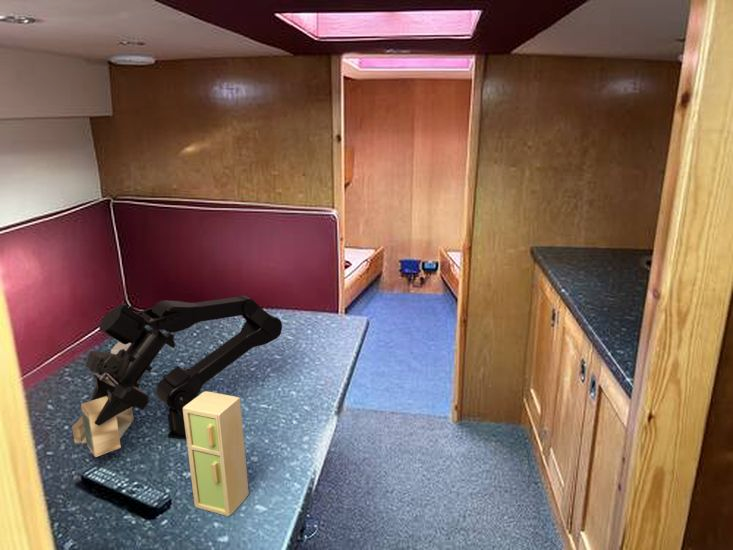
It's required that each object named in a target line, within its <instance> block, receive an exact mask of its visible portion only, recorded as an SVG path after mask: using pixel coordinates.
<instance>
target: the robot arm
mask: <svg viewBox="0 0 733 550" xmlns="http://www.w3.org/2000/svg"><path fill="white" fill-rule="evenodd" d="M240 316H241V317H242V318H243V319H244V320H245V322H244V324H243V325H242V327H241V329H240V331H239V332H237V334H236V335H234V336H233V337H231V338H229V340H227V341H226V342H224V343H223V344H222V345H220V346H218V347H217V348H216V349H215V350H213V351H212V352H211V353H209V354H208V355H206V356H205V357H204V358H202V359H201V360H199V361H198V362H197V363H196V364H194V365H193V366H191V367H189V368H186V369H183V368H182V367H180V366H178V365H177V366H175V367H174V368H173V369H172V370H171V371H170V372H169V373H166V374H164V375H162V377H161V378H162V379H160V380H159V382H158V383H157V386H156V393H155V394H156V395H157V397H158V399H160V400H161V401H162V402H163V403H164V404H165V405H166V406H167V407H169V408H168V414H167V422H168V430H169V432H168V434H167V438H173V439H180V440H181V439H183V440H187V439H186V432H185V423H184V416H183V407H184V406H185V405H187V404H188V403H189V402H191V401H192V400H193V399H195V398H196V397H197V396H199V395H200V391H201V390H202V388H203V386H204V385H206V383H207V382H210V380H212V379H213V378H214V377H215V376H216V375H218V374H220V373H221V372H222V371H224V370H225V369H226V368H228V367H229V366H230V365H231V364H233V363H234V362H236V361H237V360H238V359H239V358H241V357H242V356H244V355H245V354H246V353H247V352H249V351H250V350H251V349H253V348H257V347H259V346H264V345H267V344H270V343H271V342H273V341H275V340H277V339H278V338H279V337H280V335H281V334H282V330H283V323H282V320H281V319H279V318H278V317H276V316H274V315H272V314H270V313H268V312H267V311H265V310H264V308H262V307H261V306H260V305H259V304H258V303H256V301H255V300H254V299H253V298H250V297H248V296H245V295H238V296H235V297H228V298H221V299H214V300H213V299H212V300H205V301H197V302H187V301H181V300H179V301H178V300H165V299H164V300H160V301H157V302H156V304H155V305H154V306H153V307H150V308H146V309H144V310H141V311H139V312H135V311H134V310H132V309H131V308H130V307H129V306H127V305H126V304H124V303H123V302H121V303H120V304H119V305H118V306H117V307H114V308H112V309H111V310H110V311H109V312H106V314H105V315H104V316H103V318H102V319H101V321H100V324H99V331H100V332H102V333H104V334H105V335H107V336H108V337H110V338H112V339H114V340H116V341H117V342H121V343H122V344H128V343H131V345H130V346H129V347H128V349H127V350H124V349H122V350H120V351H119V352H118V353H117V354H111V352H107V351H98V350H90V351H89V354H88V357H87V360H86V363H85V367H86V368H88V369H89V371H90V372H92V373H94V374H93V375H92V376H93V379H94V383H95V388H94V390H93V393H92V397H91V400H90V401H92V400H95V399H98V398H102V397H105V396H107V397H108V400H107V402H106V403H105V405H104V407H103V408H102V410H101V412H100V413H99V415H98V417H97V419H96V421H95V424H97V425H101V424H103V423H104V422H106V421H108V420H109V419H111V418H113V417H114V416H116V415H118V414H119V413H121V412H123V411H125V410H127V409H129V408H131V407H132V408H135V407H137V408H139V410H145V408H146V407H147V405H148V404H149V402H150V399H149V394H147V393H146V392H145V391H144V390H143V389H141V388H139V387H140V386H141V384H140V383H139V382H140V380H141V379H142V377H143V375H144V374H145V372H146V371H147V372H149V373H150V372H151V371H152V369H153V367H152V366H151V364H152V363H153V361H154V360H155V358H156V357H157V356H158V355H159V353H160V352H161V350H162V349H163V348H164V346H165V345H168V346H169V347H171V348H175V347H176V344H175V339H174V337H175V335H174V334H175V333H179V332H181V331H183V330H187V329H190V328H191V327H193V326H194V325H195V324H198V323H201V322H206V321H214V320H219V319H227V318H231V317H240ZM146 326H148V327H150V329H148V328H147V327H146ZM163 330H164V331H166V332H167V333H165V332H163ZM173 333H174V334H173ZM96 373H97V375H96ZM139 379H140V380H139ZM138 381H139V382H138Z"/></svg>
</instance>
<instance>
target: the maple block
mask: <svg viewBox="0 0 733 550" xmlns="http://www.w3.org/2000/svg"><path fill="white" fill-rule="evenodd" d="M107 400H108V397H107V396H105V397H102V398H98V399H95V400H92V401H91V400H89V401H87V402H83V403H80V406H81V417H83V423H84V429H85V436H86V442H87V443H86V444H87V448H88V449H89V451H90V452H91V453H92V455H93V456H94V457H95V458H97V457H99V456H102V455H105V454H107V453H111V452H113V451H115V450H119V449H121V447H122V446H121V438H120V439H119V431H118V424H117V417H116V416H114V417H113V418H111V419H109V420H108V421H106V422H104V423H103V424H101V425H97V424H95V421H96V419H97V417H98V415H99V413H100V412H101V410H102V408H103V407H104V405H105V403H106V402H107Z"/></svg>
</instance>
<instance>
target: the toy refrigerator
mask: <svg viewBox="0 0 733 550" xmlns="http://www.w3.org/2000/svg"><path fill="white" fill-rule="evenodd" d="M183 416H184V423H185V432H186V439H185V440H186V445H187V453H188V454H187V455H188V463H189V471H190V479H191V480H190V481H191V487H192V495H193V502H194V507H195V508H197V509H200V510H205V511H208V512H212V513H215V514H219V515H222V516H226V517H230V516H231V515H233V514H234V513H235V511H237V509H238V508H239V507H240V505H242V503H244V501H245V500H246V499H247V498H248V496H249V495H250V494H249V493H250V492H249V483H248V482H249V479H248V470H247V461H246V460H247V458H246V450H245V447H246V446H245V439H244V438H245V436H244V428H243V427H244V425H243V415H242V404H241V398H240V397H238V396H233V395H229V394H224V393H223V394H222V393H219V392H218V393H217V392H212V391H207V390H206V391H202V393H199V394H198V396H197V397H196V398H195V399H193V400H192V401H191V402H189V403H188V404H187V405H185V406H184V407H183Z"/></svg>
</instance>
